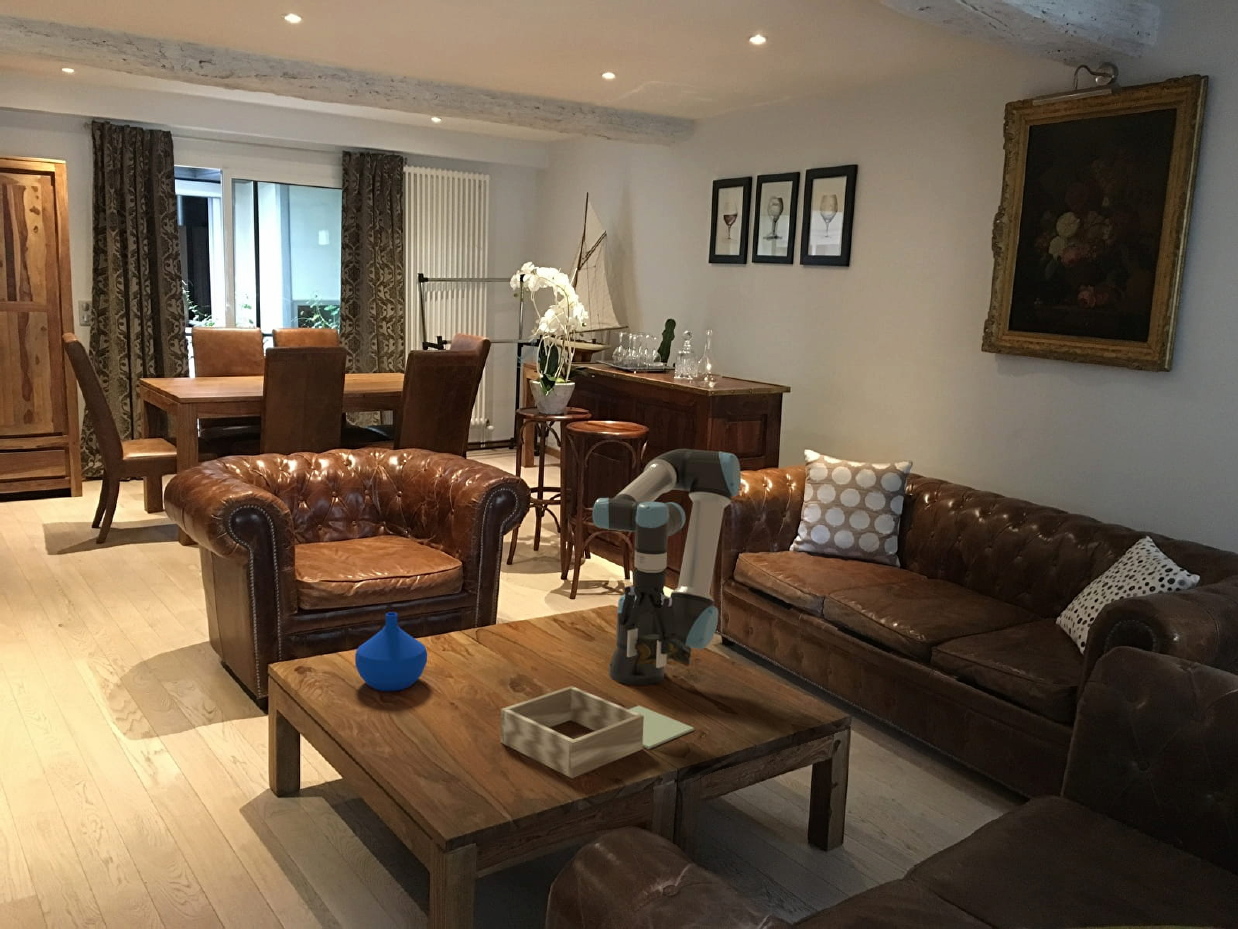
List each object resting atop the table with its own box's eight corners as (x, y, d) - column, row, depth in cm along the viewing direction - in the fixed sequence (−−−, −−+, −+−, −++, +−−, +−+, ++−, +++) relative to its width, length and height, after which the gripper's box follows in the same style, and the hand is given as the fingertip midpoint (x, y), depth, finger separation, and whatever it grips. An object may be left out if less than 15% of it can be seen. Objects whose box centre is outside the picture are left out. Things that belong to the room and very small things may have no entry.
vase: (340, 690, 261) (339, 618, 258) (382, 668, 278) (382, 600, 275) (401, 703, 254) (401, 629, 251) (440, 679, 271) (441, 610, 268)
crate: (500, 742, 234) (501, 709, 233) (570, 717, 249) (571, 686, 248) (572, 778, 217) (573, 743, 216) (642, 749, 233) (643, 715, 232)
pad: (593, 724, 245) (593, 722, 245) (638, 707, 257) (639, 705, 257) (648, 749, 233) (648, 746, 233) (693, 730, 244) (693, 727, 244)
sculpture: (691, 661, 246) (692, 633, 245) (690, 669, 240) (691, 641, 239) (636, 658, 247) (637, 631, 246) (634, 667, 241) (635, 638, 240)
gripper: (606, 561, 244) (603, 652, 247) (674, 580, 229) (669, 677, 232) (628, 557, 249) (624, 646, 252) (695, 575, 234) (691, 669, 238)
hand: (646, 660), depth 242 cm, fingers closed on sculpture, 9 cm apart
